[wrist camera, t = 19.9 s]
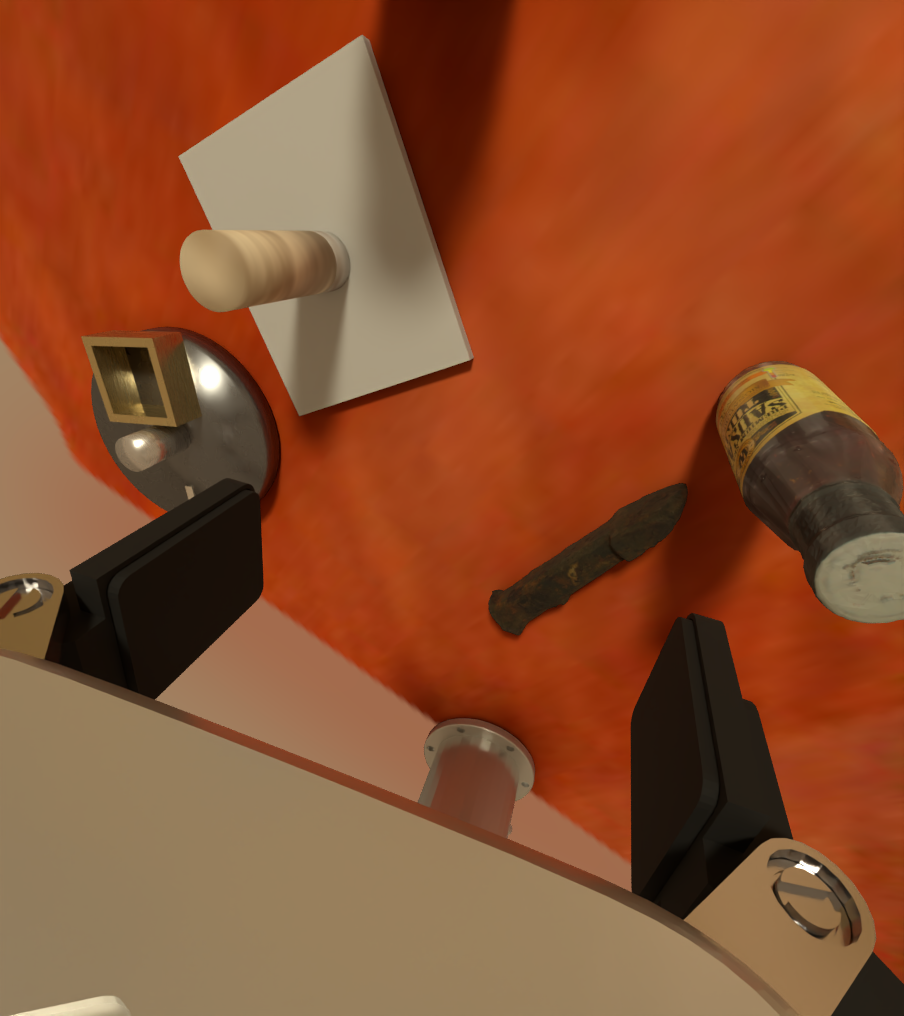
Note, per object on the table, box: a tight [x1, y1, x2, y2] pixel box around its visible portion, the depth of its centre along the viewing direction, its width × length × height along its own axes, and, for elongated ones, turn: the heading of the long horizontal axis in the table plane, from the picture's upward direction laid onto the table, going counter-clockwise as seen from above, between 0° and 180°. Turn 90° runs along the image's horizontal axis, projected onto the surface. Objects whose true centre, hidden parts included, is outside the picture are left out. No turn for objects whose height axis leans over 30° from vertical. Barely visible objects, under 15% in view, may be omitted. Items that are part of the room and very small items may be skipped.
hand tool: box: [489, 483, 688, 635], centre depth 42 cm, size 19×4×5 cm, turn 135°
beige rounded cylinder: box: [180, 230, 350, 312], centre depth 33 cm, size 4×4×12 cm
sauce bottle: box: [716, 361, 904, 623], centre depth 27 cm, size 6×6×20 cm
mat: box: [179, 35, 473, 416], centre depth 38 cm, size 20×16×1 cm
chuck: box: [81, 327, 279, 512], centre depth 46 cm, size 18×18×8 cm
